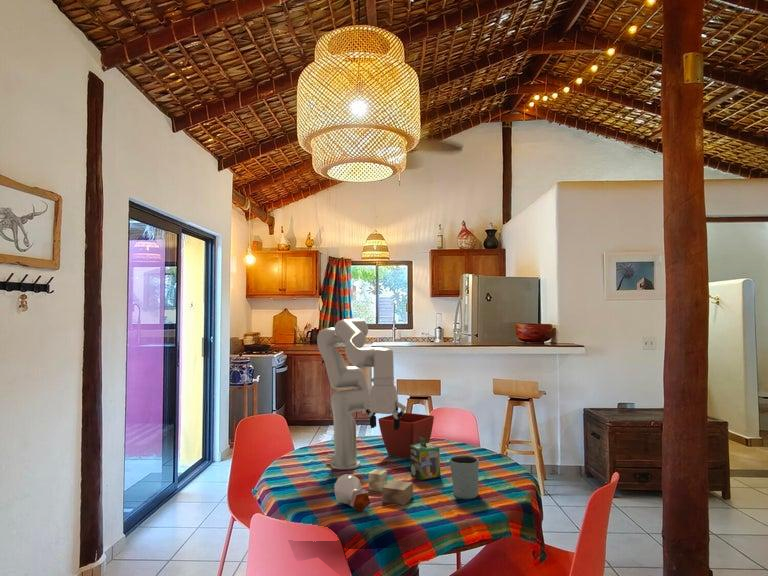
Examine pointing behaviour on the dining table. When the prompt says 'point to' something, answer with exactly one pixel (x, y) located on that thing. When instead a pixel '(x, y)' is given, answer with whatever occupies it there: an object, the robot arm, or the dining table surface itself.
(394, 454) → the plant pot
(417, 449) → the chalk box
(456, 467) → the grey embossed cup
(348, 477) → the potion bottle
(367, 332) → the robot arm
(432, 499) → the dining table surface
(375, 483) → the beech block
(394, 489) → the tan square block
